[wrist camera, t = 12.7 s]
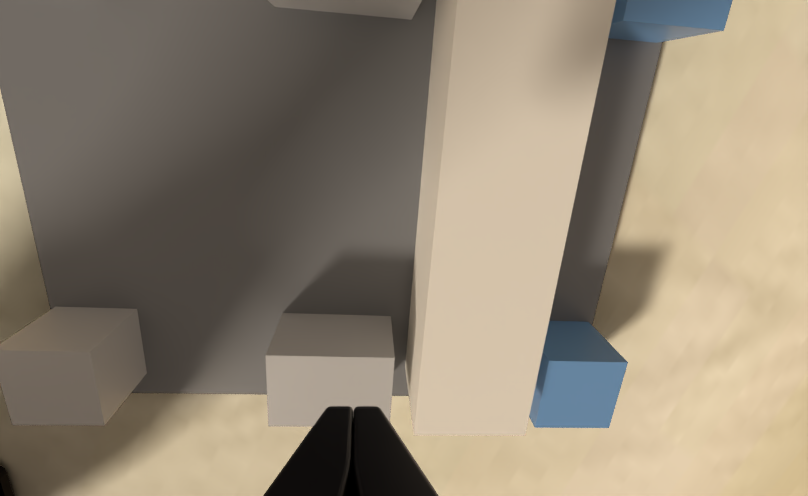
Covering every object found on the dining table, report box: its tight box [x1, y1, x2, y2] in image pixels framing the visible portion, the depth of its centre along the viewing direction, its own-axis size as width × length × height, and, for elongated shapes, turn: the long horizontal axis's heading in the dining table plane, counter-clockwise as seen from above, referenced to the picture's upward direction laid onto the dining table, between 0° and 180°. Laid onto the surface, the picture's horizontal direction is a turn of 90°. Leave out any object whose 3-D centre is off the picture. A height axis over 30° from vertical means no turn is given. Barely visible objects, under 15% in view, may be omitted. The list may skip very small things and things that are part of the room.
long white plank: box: [405, 0, 616, 436], centre depth 14 cm, size 16×4×4 cm, turn 176°
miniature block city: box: [0, 0, 732, 428], centre depth 15 cm, size 19×22×4 cm
